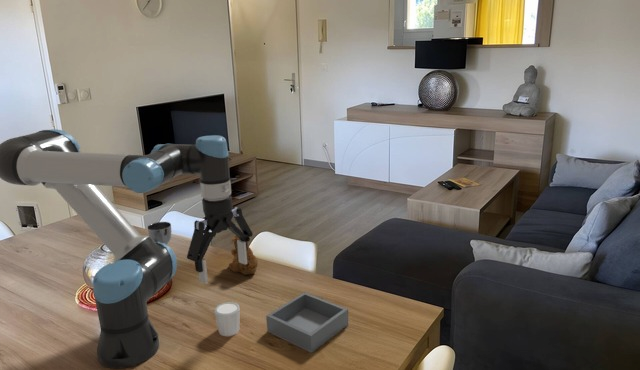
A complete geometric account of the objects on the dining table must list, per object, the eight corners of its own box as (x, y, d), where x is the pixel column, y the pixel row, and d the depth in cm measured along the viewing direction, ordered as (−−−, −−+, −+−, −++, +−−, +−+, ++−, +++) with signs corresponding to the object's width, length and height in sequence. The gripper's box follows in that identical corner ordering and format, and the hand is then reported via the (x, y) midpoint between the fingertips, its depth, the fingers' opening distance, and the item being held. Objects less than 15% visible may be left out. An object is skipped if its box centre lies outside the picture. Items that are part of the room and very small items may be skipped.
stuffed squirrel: (254, 259, 180) (252, 226, 176) (264, 276, 167) (261, 240, 163) (227, 264, 176) (224, 230, 173) (235, 281, 164) (232, 245, 160)
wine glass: (180, 262, 179) (175, 224, 175) (162, 270, 173) (157, 231, 169) (165, 257, 184) (160, 220, 179) (148, 266, 177) (142, 227, 173)
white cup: (236, 338, 132) (234, 315, 130) (212, 336, 134) (210, 313, 132) (245, 324, 139) (243, 302, 137) (222, 322, 140) (220, 300, 138)
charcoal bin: (311, 352, 125) (310, 335, 124) (267, 331, 135) (266, 315, 134) (348, 324, 137) (348, 309, 136) (305, 307, 147) (304, 292, 145)
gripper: (185, 213, 114) (194, 295, 120) (262, 187, 132) (267, 259, 138) (166, 207, 118) (176, 286, 124) (243, 182, 137) (248, 252, 143)
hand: (224, 272), depth 131 cm, fingers open, 13 cm apart
